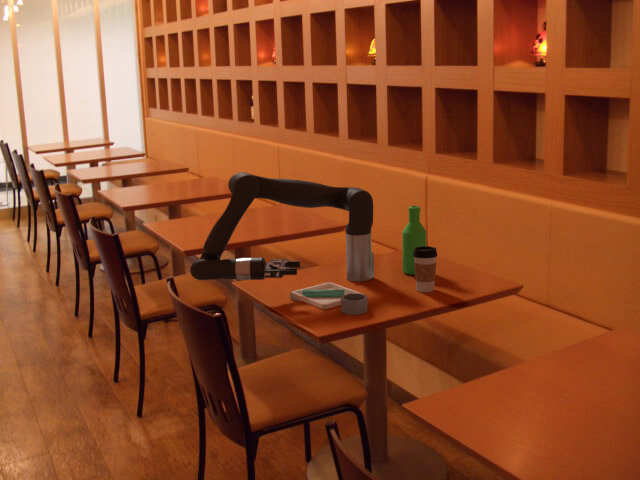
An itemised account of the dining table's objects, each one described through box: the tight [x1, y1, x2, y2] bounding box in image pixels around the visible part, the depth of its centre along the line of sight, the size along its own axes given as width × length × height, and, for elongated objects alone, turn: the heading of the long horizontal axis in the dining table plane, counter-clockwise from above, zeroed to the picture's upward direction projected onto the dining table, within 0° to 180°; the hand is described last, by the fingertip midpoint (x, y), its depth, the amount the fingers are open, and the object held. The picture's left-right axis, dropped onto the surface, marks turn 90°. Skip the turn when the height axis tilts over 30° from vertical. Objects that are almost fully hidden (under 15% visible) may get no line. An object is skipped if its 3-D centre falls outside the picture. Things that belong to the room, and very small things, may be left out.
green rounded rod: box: [303, 290, 345, 297], centre depth 265 cm, size 2×2×14 cm
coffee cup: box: [413, 245, 438, 293], centre depth 270 cm, size 8×8×15 cm
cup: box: [340, 292, 369, 316], centre depth 249 cm, size 8×8×6 cm
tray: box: [289, 281, 366, 311], centre depth 264 cm, size 17×19×2 cm
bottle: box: [401, 205, 428, 276], centre depth 290 cm, size 9×9×25 cm
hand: (298, 267), depth 263 cm, fingers open, 8 cm apart
